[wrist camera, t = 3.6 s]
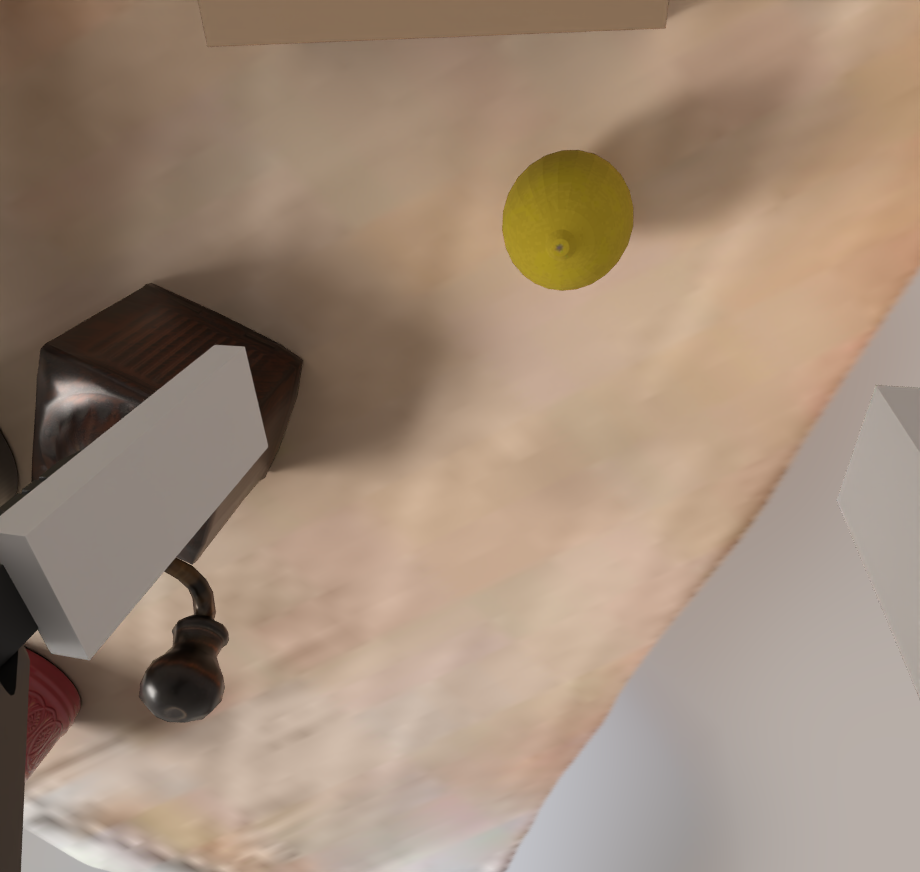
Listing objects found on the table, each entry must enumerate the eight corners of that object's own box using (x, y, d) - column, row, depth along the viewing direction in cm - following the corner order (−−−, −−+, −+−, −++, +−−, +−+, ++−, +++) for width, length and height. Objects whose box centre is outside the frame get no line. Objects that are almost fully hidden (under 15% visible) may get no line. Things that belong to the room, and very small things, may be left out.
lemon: (595, 110, 29) (587, 138, 23) (652, 217, 31) (661, 272, 25) (493, 181, 32) (460, 225, 25) (552, 276, 34) (536, 340, 27)
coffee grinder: (127, 415, 45) (-116, 613, 30) (148, 276, 39) (-146, 440, 24) (332, 513, 46) (195, 752, 31) (385, 394, 40) (245, 621, 25)
